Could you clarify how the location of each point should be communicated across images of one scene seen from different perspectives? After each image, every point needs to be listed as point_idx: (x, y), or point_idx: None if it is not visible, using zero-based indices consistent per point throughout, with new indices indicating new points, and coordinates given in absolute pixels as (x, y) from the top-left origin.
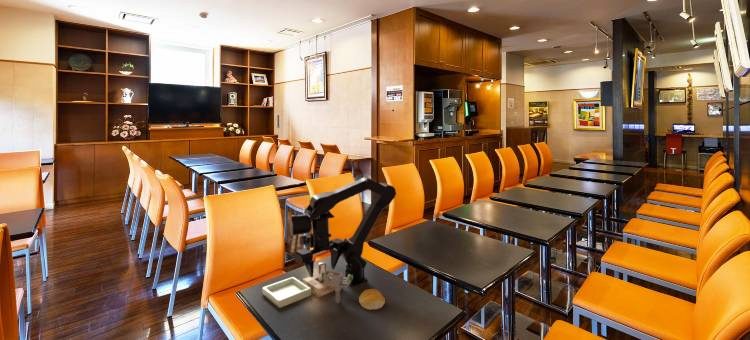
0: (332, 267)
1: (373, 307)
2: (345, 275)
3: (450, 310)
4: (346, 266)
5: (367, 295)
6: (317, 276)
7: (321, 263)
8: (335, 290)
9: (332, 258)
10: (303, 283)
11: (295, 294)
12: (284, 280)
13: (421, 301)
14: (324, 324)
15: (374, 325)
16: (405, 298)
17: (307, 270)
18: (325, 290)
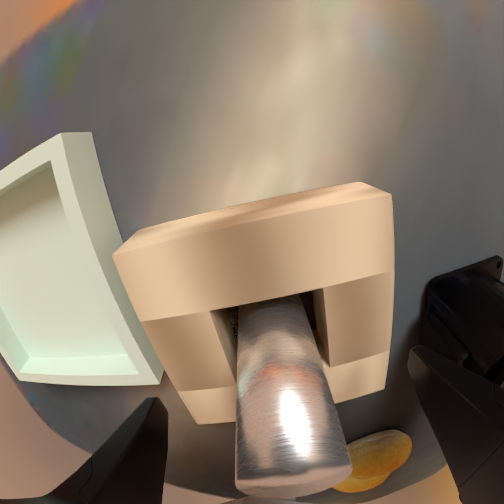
0: (415, 367)
1: None
2: (439, 337)
3: (437, 468)
4: (481, 372)
5: (359, 476)
6: (259, 278)
7: (293, 480)
8: None
9: (467, 432)
10: (116, 304)
11: (73, 384)
12: (6, 179)
13: (442, 451)
14: (180, 475)
15: None
16: (436, 442)
17: (108, 438)
18: None
